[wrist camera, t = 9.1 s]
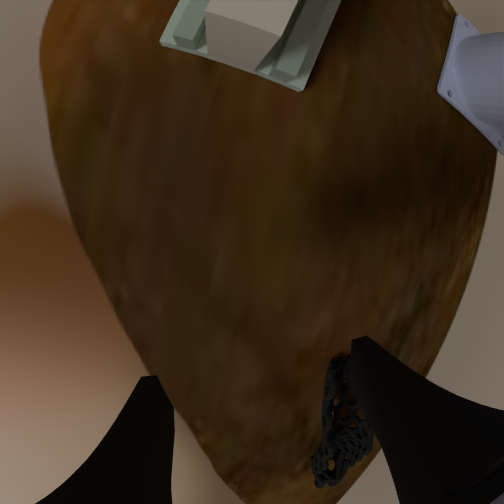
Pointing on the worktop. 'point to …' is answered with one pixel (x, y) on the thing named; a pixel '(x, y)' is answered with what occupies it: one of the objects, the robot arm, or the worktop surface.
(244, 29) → the beige rectangular block
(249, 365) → the worktop surface
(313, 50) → the rack
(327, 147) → the worktop surface
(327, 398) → the decorative element
